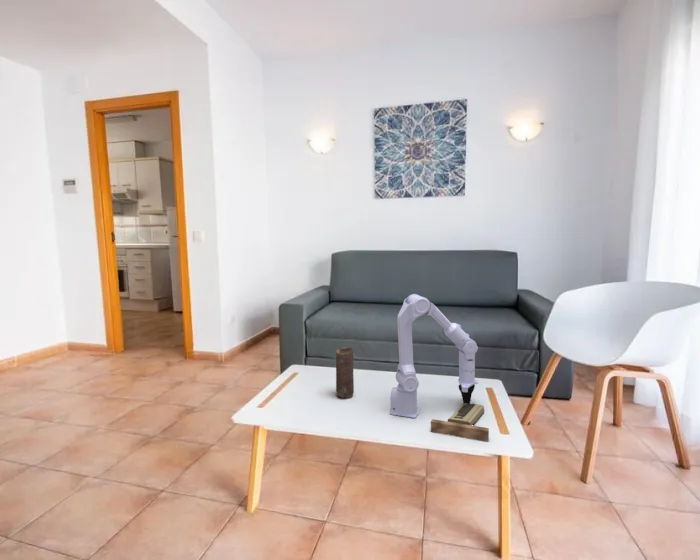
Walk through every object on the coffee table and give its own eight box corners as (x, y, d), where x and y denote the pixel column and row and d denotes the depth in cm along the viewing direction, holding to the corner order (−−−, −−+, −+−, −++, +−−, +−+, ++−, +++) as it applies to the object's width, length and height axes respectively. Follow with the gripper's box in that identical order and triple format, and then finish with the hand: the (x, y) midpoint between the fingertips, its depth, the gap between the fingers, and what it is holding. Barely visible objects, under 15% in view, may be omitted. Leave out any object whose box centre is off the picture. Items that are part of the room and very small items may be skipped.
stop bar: (430, 431, 125) (430, 421, 124) (432, 428, 127) (431, 419, 126) (488, 441, 118) (488, 431, 117) (488, 438, 119) (488, 428, 119)
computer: (462, 408, 142) (462, 399, 142) (484, 413, 138) (484, 404, 137) (447, 424, 130) (447, 415, 129) (470, 431, 125) (470, 421, 125)
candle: (357, 396, 155) (356, 349, 153) (343, 401, 151) (342, 352, 149) (346, 391, 161) (345, 345, 159) (332, 395, 157) (331, 348, 155)
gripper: (476, 376, 133) (476, 413, 134) (479, 364, 146) (479, 397, 147) (455, 374, 136) (455, 410, 137) (460, 362, 149) (460, 395, 150)
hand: (466, 403), depth 142 cm, fingers closed
